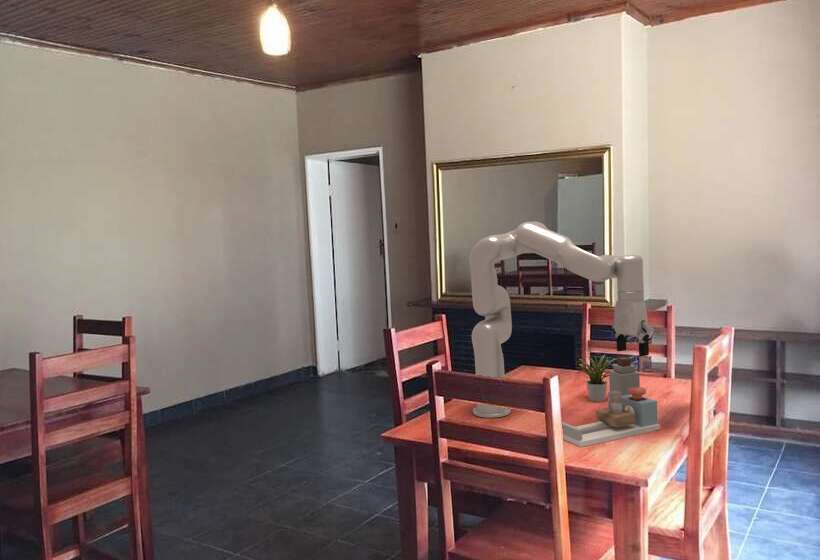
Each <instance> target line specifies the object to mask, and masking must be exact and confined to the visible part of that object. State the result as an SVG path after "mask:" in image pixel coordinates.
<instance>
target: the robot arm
mask: <svg viewBox="0 0 820 560" xmlns="http://www.w3.org/2000/svg"><path fill="white" fill-rule="evenodd" d="M527 252H532V253H534V254H536V255H538V256H541V257H542V258H546V259H547V260H550V261H552V262H554V263H556V264H558V266H561V267H562V268H564V269H566V270H568V271H569V272H571V273H573V274H575V275H578V276H580V277H582V278H583V279H584V278H585V279H587V280H589V281H591V282H597V283H602V282H605V281H607V280H611V279H616V291H617V292H616V293H617V300H616V301H615V307H614V318H613V321H612V322H610V324H611V325H610V326H611V327H612V332H613V334H614V337H615V339H616V352H624V351H627V337H625V336H630V337H637V339H638V340H639V342H638V356H639V357H646V356H649V355H650V349H649V348H650V346H649V345H650V343H651V339H652V338H653V335H654V331H655V329H654V328H653V327H652V326H651V325H650V324H649V321H648V320H649V319H648V311H647V305H646V301H645V291H644V290H645V288H644V285H645V284H644V262H643V258H642V256H641V255H638V254H637V255H636V254H626V255H611V254H610V255H609V254H603V255H599V256H598V255H595V254H593V253H591V252H589V251H587V250H584V249H582V248H580V247H578V246H576V245H575V244H574V243H573V242H572V240H571V238H569V237H568V236H565V235H562V234H561V233H559V232H555V231H554V230H550V229H548V228H547V226H546V225H545V224H543V223H541V222H540V221H526V222H525V221H524V222H522V223H520V224H519V225H518V226H517V228H516V229H514V230H511V231H508V232H505V233H502V234H501V233H500V234H492V235H488V236H485V237H483V238H481V239H479V241H477V243H475V244H474V246H473V247H472V248H471V251H470V254H469V266H470V267H469V268H470V279H471V280H470V281H471V294H472V295H471V297H472V298H471V299H472V307H473V309H474V310H473V311H475V313H476V314H478V315H479V316H482V317H484V318H485V319H484V320H480V321H479V322H477V324H476V325H475V326H474V327H473V330H472V331H471V342H472V348H473V354H474V366H475V376H476V375H482V376H490V377H504V378H505V361H504V353H503V351H502V346H501V345H502V344H503V343H505V342H507V340H509V339H510V337H511V335H512V332H513V331H512V329H513V322H512V310H511V309H512V308H511V307H512V306H511V299H510V296H509V292H508V291H507V290H506V289H505V288H504V287H503V286H501V285H500V284H499V285H498V276H497V270H496V268H495V263H496V262H498V261H502V260H503V261H504V260H508V259H511V258H515V257H517V256H520V255H523V254H526V253H527ZM510 413H511V408H510V409H508V408H502V407H496V406H491V405H484V404H478V403H477V402H476V407H473V408H472V414H473V415H475V416H476V417H481V418H488V419H494V418H501V417H502V418H503V417H507V416H508V415H510Z"/></svg>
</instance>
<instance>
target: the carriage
mask: <svg viewBox="0 0 820 560" xmlns="http://www.w3.org/2000/svg"><path fill="white" fill-rule="evenodd" d="M607 403H608V406H607V407H605V408H601V409H596V410H595V416H596V417H595V420H596V421H597V422H603V423H606V424H608V425H611V426H613V427H616V428H617V427H622V426H627V425H631V424H635V413H632V412H629V411H626V410H623V409H622V392H619V391H612V392H610V391H608V392H607Z"/></svg>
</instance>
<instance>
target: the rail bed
mask: <svg viewBox="0 0 820 560" xmlns="http://www.w3.org/2000/svg"><path fill="white" fill-rule="evenodd" d="M562 429H563V439H562V440H564V441H566V442H568V441H569V442H568V443H570V442H571V444H572V445H575V446H577V447H579V448H584V447H588V446H589V447H590V446H593V445H597V444H601V443H606V442H611V441H614V440H619V439H624V438H629V437H633V436H638V435H642V434H646V433H651V432H656V431H659V430H661V424H659V423H658V424H654V425H650V426H645V427H640V426H637V425H634V424H631V425H627V426H622V427H617V428H616V427H613V426H611V425H608V424H606V423H603V422H600V421H597V422H592V423H587V424H582V425H577V426H573V425H571V424H569V423H567V422H564V421H562Z"/></svg>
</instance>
